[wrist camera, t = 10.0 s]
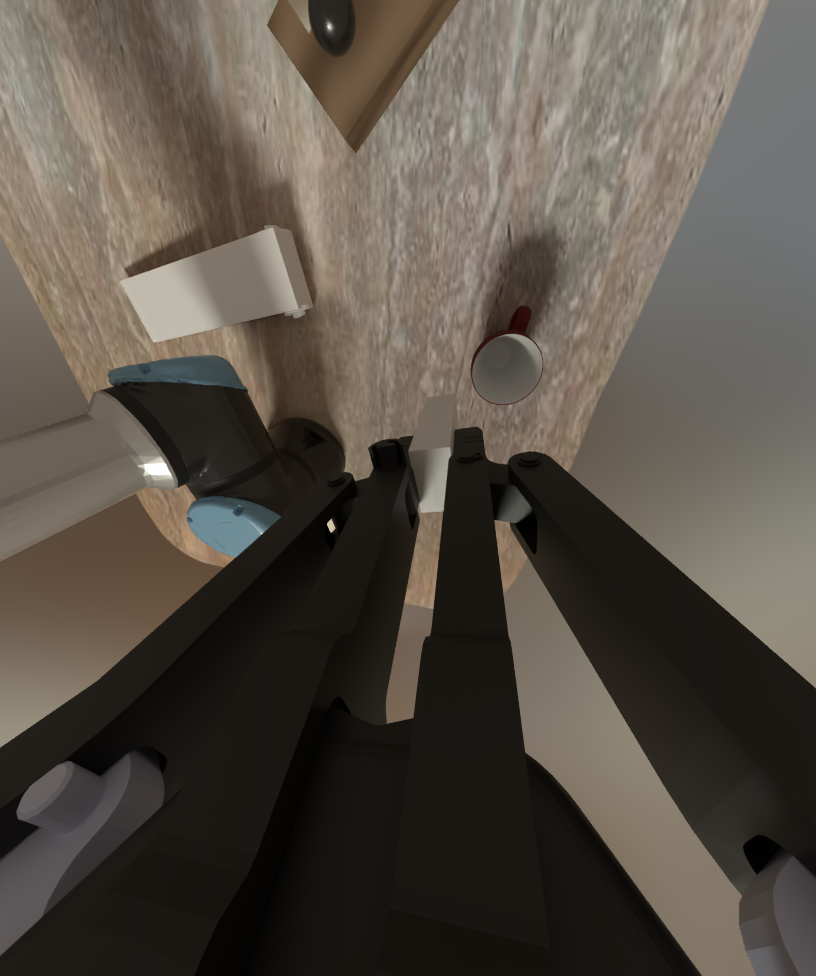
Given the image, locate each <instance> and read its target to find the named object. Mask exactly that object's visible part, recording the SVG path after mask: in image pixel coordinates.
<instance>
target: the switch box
mask: <svg viewBox="0 0 816 976" xmlns="http://www.w3.org/2000/svg"><path fill="white" fill-rule="evenodd" d="M458 1H459V0H353V4H354V8H355V15H356V32H355V37H354V41H353V44H352V46H351V48H350V50H349V51H348V52H347V53H346V54H345V55H344V56H342V57H338V58H336V57H332V56H329V55H327V54H326V53H325V52H324V51H323V50H322V49H321V47H320V46H319V45H318V43H317V41H316V39H315V37H314V35H313V32H312V29H311V26H310V21H309V15H308V0H278V2H277V5H276V7H275V9H274V11H273V13H272V16H271V18H270V20H269V22H268V24H267V26H268V27H269V29H270V30H271V32H272V33H273V35H274V36H275V38H276V39H277V40H278V42H279V43H280V45H281V46H282V48H283V49H284V51H285V52H286V54H287V55H288V57H289V58H290V60H291V61H292V62H293V64H294V65H295V67H296V68H297V70H298V71H299V73H300V74H301V76H302V77H303V79H304V80H305V81H306V83H307V84H308V86H309V87H310V89H311V90H312V92H313V93H314V95H315V96H316V98H317V99H318V101H319V102H320V103H321V105H322V106H323V108H324V109H325V111H326V112H327V114H328V115H329V117H330V118H331V120H332V121H333V123H334V124H335V125H336V127H337V128H338V130H339V131H340V133H341V134H342V136H343V137H344V139H345V140H346V141H347V142H348V144H349V145H350V146H351V147H352V149H353V150H354V151H355V153H357V151H358V150H359V148H360V147H361V145H362V144H363V142H364V141H365V139H366V138H367V137H368V135H369V134H370V132H371V131H372V129H373V128H374V126H375V125H376V123H377V122H378V120H379V119H380V117H381V116H382V114H383V113H384V111H385V110H386V108H387V107H388V105H389V104H390V102H391V101H392V99H393V98H394V96H395V95H396V93H397V92H398V90H399V89H400V87H401V86H402V84H403V83H404V82H405V80H406V79H407V77H408V76H409V74H410V73H411V71H412V70H413V68H414V67H415V65H416V64H417V62H418V61H419V59H420V58H421V56H422V55H423V53H424V52H425V50H426V49H427V47H428V46H429V44H430V43H431V41H432V40H433V38H434V37H435V35H436V34H437V32H438V31H439V29H440V28H441V27H442V25H443V24H444V22H445V21H446V19H447V18H448V16H449V15H450V13H451V12H452V10H453V9H454V7H455V6H456V4H457V3H458Z"/></svg>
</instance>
